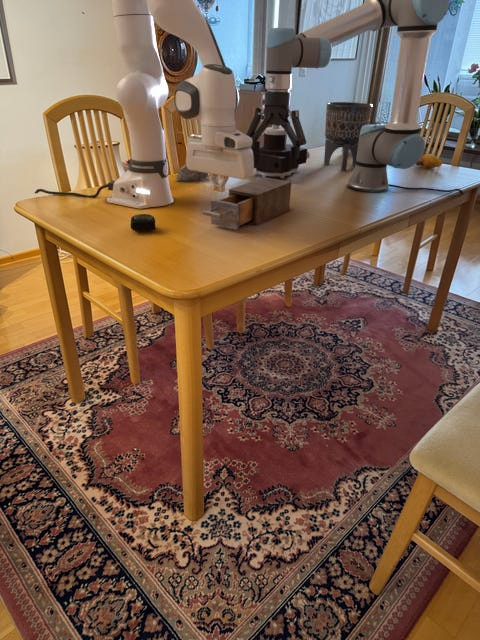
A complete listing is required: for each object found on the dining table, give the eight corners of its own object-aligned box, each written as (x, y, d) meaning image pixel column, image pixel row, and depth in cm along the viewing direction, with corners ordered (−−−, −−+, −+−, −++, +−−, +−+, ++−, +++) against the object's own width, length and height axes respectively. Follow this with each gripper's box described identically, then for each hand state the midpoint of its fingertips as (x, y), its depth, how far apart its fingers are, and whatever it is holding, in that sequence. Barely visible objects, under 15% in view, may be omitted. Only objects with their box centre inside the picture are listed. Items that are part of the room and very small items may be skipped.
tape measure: (131, 234, 126) (129, 221, 124) (132, 226, 132) (131, 213, 130) (155, 233, 127) (154, 220, 125) (156, 225, 133) (155, 213, 131)
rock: (201, 174, 189) (200, 158, 186) (213, 179, 184) (213, 162, 180) (174, 179, 182) (173, 162, 178) (186, 184, 176) (186, 167, 173)
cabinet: (256, 225, 135) (257, 194, 131) (228, 218, 140) (228, 189, 136) (289, 209, 150) (291, 181, 145) (263, 204, 155) (264, 177, 150)
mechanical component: (240, 120, 182) (283, 115, 202) (239, 174, 192) (280, 164, 212) (283, 126, 170) (325, 120, 190) (280, 183, 180) (320, 171, 200)
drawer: (224, 235, 124) (224, 210, 121) (198, 229, 129) (198, 204, 125) (270, 214, 142) (272, 191, 138) (247, 209, 146) (247, 186, 143)
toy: (416, 161, 206) (411, 154, 219) (419, 175, 209) (413, 167, 222) (442, 153, 203) (435, 147, 216) (444, 167, 206) (437, 160, 219)
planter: (313, 167, 208) (319, 103, 195) (331, 160, 222) (338, 101, 209) (353, 173, 199) (362, 107, 185) (369, 166, 213) (379, 104, 199)
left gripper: (179, 134, 119) (182, 187, 126) (243, 142, 109) (242, 199, 116) (195, 131, 124) (196, 183, 131) (257, 139, 114) (255, 194, 121)
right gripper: (235, 88, 136) (234, 162, 146) (310, 93, 124) (303, 173, 134) (249, 87, 141) (247, 158, 152) (322, 92, 129) (314, 169, 140)
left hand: (218, 191), depth 123 cm, fingers closed
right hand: (273, 165), depth 143 cm, fingers open, 13 cm apart
